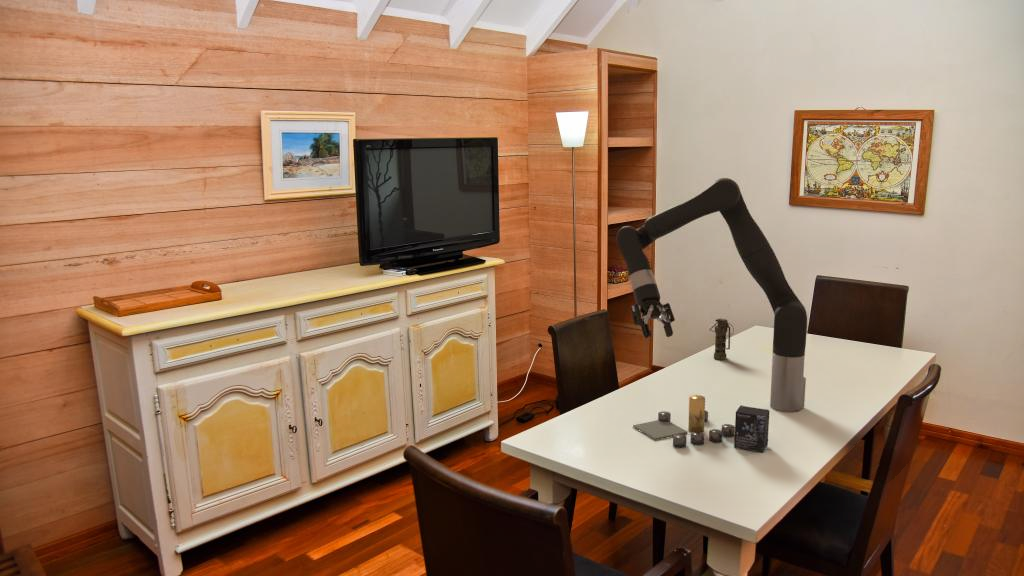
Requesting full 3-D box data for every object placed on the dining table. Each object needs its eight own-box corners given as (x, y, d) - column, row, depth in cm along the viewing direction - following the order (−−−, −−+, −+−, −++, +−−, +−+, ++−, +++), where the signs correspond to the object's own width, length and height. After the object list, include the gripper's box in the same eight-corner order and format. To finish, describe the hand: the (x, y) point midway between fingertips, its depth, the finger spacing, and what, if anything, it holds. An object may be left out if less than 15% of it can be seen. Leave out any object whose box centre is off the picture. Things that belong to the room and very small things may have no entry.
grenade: (707, 359, 290) (708, 320, 287) (714, 355, 295) (715, 317, 292) (729, 363, 285) (730, 323, 282) (736, 359, 289) (737, 320, 286)
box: (733, 448, 210) (735, 411, 208) (738, 440, 215) (740, 404, 213) (763, 453, 207) (765, 416, 204) (768, 446, 211) (769, 409, 209)
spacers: (694, 412, 237) (694, 404, 236) (742, 437, 217) (742, 429, 217) (637, 424, 229) (637, 416, 228) (681, 451, 209) (681, 442, 209)
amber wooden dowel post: (697, 426, 226) (698, 394, 224) (707, 432, 222) (708, 398, 220) (685, 429, 224) (686, 396, 222) (694, 434, 220) (695, 401, 218)
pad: (664, 420, 231) (664, 418, 231) (687, 433, 221) (687, 431, 221) (633, 427, 227) (633, 425, 226) (654, 440, 217) (654, 438, 217)
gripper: (634, 282, 232) (648, 333, 227) (669, 282, 240) (684, 331, 234) (619, 292, 238) (633, 342, 233) (654, 291, 246) (669, 340, 240)
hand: (659, 336), depth 234 cm, fingers open, 8 cm apart
